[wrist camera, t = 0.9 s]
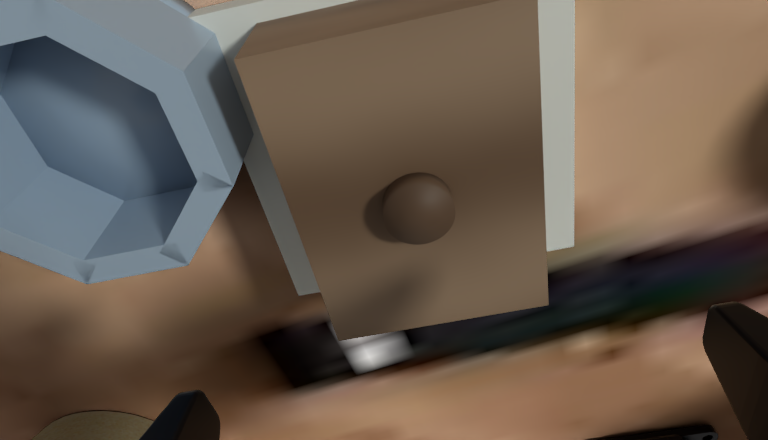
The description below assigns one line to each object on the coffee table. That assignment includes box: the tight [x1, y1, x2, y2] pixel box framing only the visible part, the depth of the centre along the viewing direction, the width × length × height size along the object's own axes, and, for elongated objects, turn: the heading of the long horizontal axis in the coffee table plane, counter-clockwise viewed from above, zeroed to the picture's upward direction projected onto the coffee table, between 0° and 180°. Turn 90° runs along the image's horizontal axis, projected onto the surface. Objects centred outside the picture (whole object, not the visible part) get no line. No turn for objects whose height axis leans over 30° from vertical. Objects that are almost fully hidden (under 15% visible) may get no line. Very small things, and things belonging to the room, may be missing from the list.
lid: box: [234, 0, 549, 341], centre depth 15 cm, size 9×6×4 cm
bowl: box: [0, 0, 254, 284], centre depth 14 cm, size 7×7×4 cm
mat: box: [188, 0, 575, 296], centre depth 16 cm, size 10×10×1 cm
